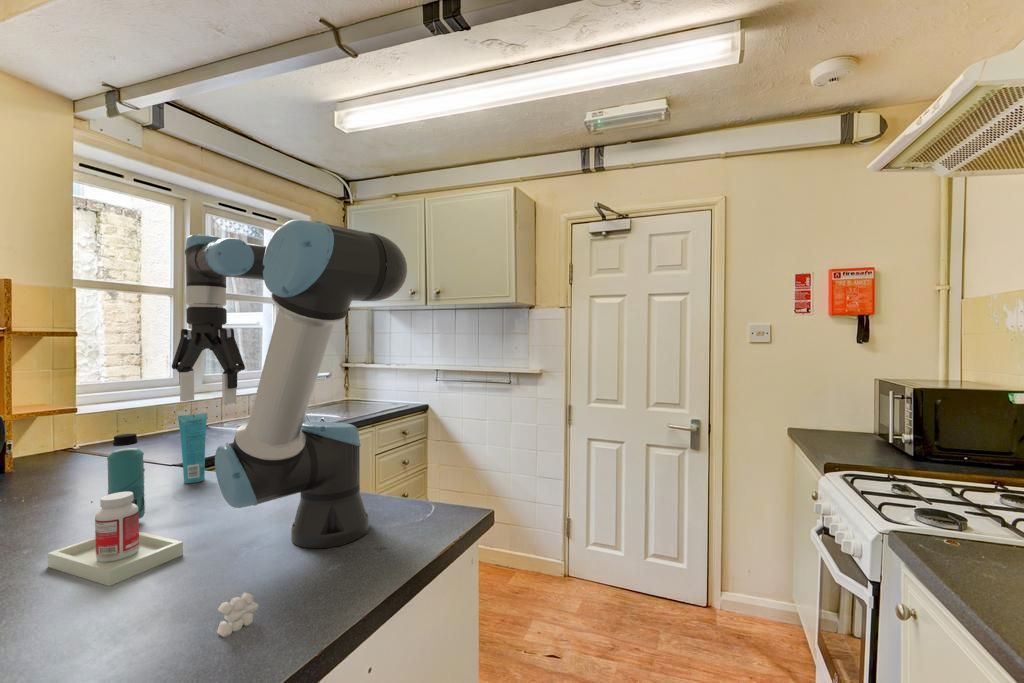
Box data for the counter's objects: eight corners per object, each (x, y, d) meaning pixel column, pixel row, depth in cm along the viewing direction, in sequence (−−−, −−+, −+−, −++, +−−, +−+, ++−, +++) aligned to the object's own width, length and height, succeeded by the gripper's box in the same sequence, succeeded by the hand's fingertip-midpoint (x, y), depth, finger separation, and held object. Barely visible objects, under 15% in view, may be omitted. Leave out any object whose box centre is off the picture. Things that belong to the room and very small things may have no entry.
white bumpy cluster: (221, 639, 64) (223, 605, 64) (215, 635, 65) (218, 602, 65) (257, 623, 68) (259, 591, 69) (251, 620, 69) (254, 589, 69)
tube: (202, 476, 139) (201, 411, 139) (212, 478, 137) (211, 412, 137) (175, 483, 133) (174, 415, 133) (184, 485, 131) (184, 416, 130)
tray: (183, 554, 89) (182, 541, 89) (109, 586, 78) (109, 571, 78) (123, 540, 96) (123, 527, 96) (47, 566, 85) (47, 553, 85)
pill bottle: (136, 544, 91) (135, 487, 91) (142, 554, 87) (141, 495, 87) (93, 555, 87) (92, 495, 87) (97, 566, 83) (96, 503, 82)
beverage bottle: (124, 532, 100) (122, 438, 99) (98, 530, 101) (97, 436, 101) (153, 520, 106) (152, 431, 106) (129, 518, 107) (128, 430, 107)
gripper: (262, 306, 104) (263, 402, 104) (186, 309, 113) (187, 397, 113) (231, 304, 97) (232, 407, 97) (152, 307, 106) (153, 401, 106)
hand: (207, 402), depth 105 cm, fingers open, 13 cm apart
